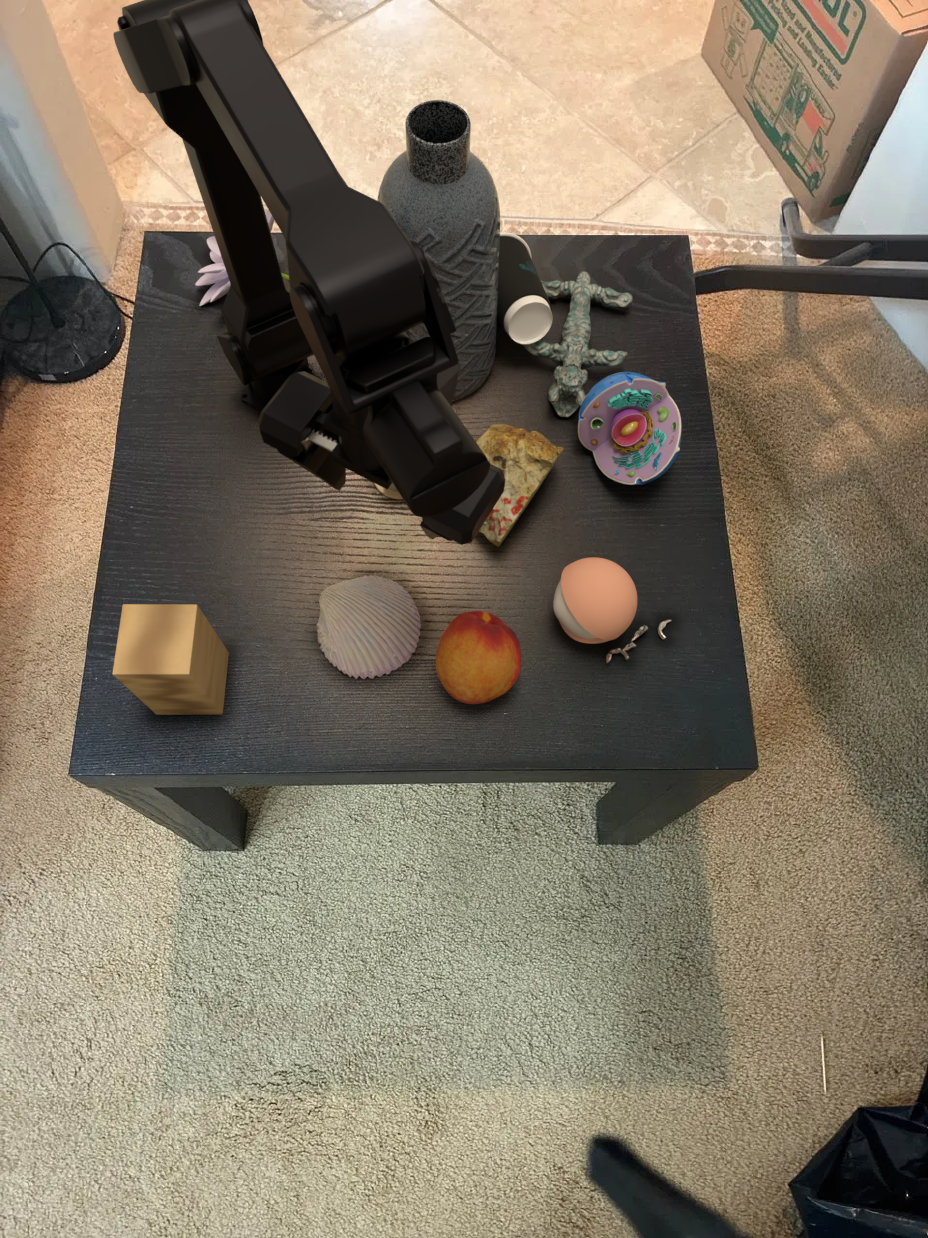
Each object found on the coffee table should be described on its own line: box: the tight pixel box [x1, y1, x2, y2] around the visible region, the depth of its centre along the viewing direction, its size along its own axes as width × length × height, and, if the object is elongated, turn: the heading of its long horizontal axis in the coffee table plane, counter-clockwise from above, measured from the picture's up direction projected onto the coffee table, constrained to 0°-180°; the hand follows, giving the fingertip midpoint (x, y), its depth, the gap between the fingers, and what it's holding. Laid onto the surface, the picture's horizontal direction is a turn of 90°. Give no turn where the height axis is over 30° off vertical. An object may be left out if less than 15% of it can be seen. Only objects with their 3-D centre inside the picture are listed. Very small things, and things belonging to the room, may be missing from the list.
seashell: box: [316, 574, 422, 680], centre depth 81 cm, size 10×6×10 cm
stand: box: [112, 603, 230, 716], centre depth 75 cm, size 6×6×12 cm
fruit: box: [434, 610, 522, 705], centre depth 77 cm, size 8×8×8 cm
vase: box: [376, 99, 501, 401], centre depth 81 cm, size 12×12×28 cm
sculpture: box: [522, 270, 633, 418], centre depth 94 cm, size 11×20×5 cm, turn 171°
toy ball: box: [552, 556, 638, 645], centre depth 80 cm, size 8×8×8 cm
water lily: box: [194, 209, 290, 307], centre depth 95 cm, size 15×15×9 cm
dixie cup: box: [497, 231, 554, 345], centre depth 91 cm, size 8×8×11 cm
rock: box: [475, 423, 565, 548], centre depth 85 cm, size 12×9×10 cm
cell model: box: [577, 371, 683, 486], centre depth 86 cm, size 10×12×10 cm
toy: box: [605, 619, 672, 664], centre depth 82 cm, size 1×8×2 cm
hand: (386, 509), depth 74 cm, fingers open, 9 cm apart
